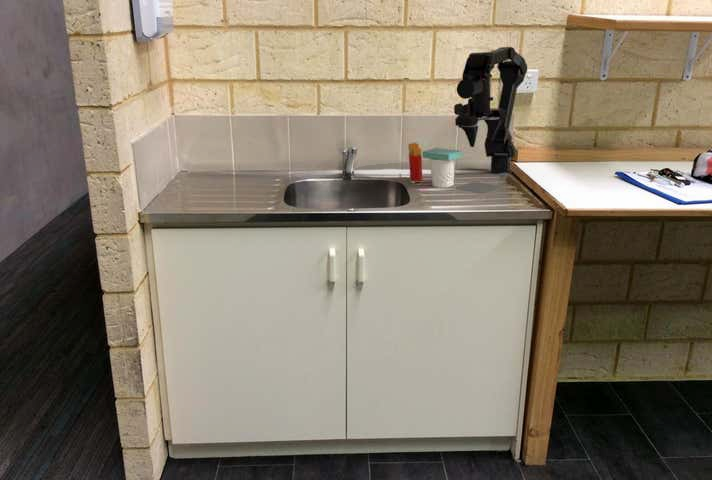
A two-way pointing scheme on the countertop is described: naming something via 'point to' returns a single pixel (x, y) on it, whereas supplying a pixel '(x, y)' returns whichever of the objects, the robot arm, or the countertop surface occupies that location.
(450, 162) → the white cup
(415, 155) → the french fries
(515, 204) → the countertop surface
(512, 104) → the robot arm
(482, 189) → the mat
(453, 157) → the lid
